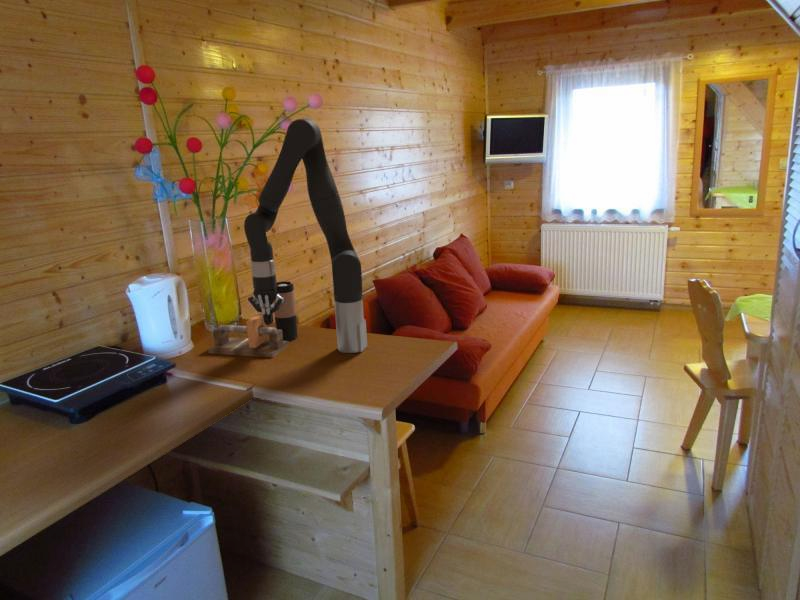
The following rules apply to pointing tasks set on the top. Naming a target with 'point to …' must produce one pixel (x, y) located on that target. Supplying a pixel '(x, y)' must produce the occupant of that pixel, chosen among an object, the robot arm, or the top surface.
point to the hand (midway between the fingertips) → (268, 324)
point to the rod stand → (247, 342)
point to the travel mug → (286, 312)
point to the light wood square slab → (256, 331)
